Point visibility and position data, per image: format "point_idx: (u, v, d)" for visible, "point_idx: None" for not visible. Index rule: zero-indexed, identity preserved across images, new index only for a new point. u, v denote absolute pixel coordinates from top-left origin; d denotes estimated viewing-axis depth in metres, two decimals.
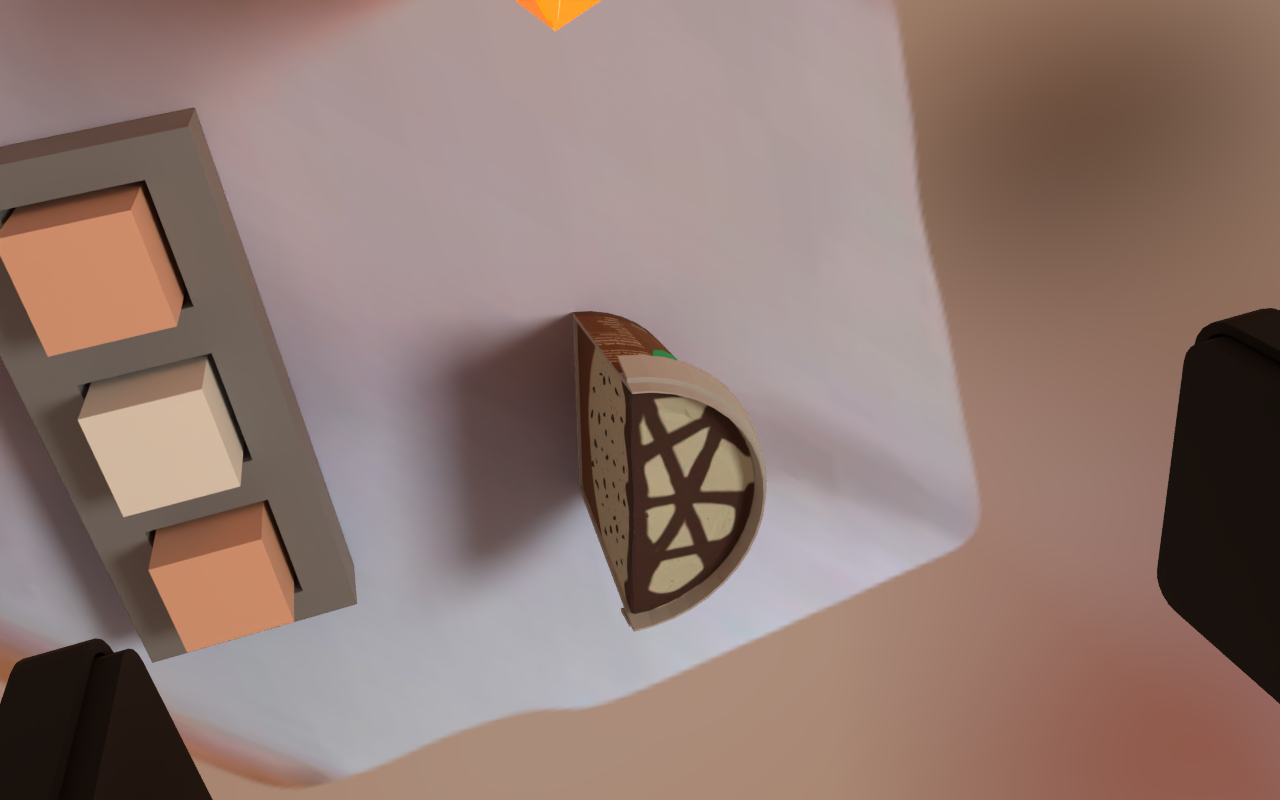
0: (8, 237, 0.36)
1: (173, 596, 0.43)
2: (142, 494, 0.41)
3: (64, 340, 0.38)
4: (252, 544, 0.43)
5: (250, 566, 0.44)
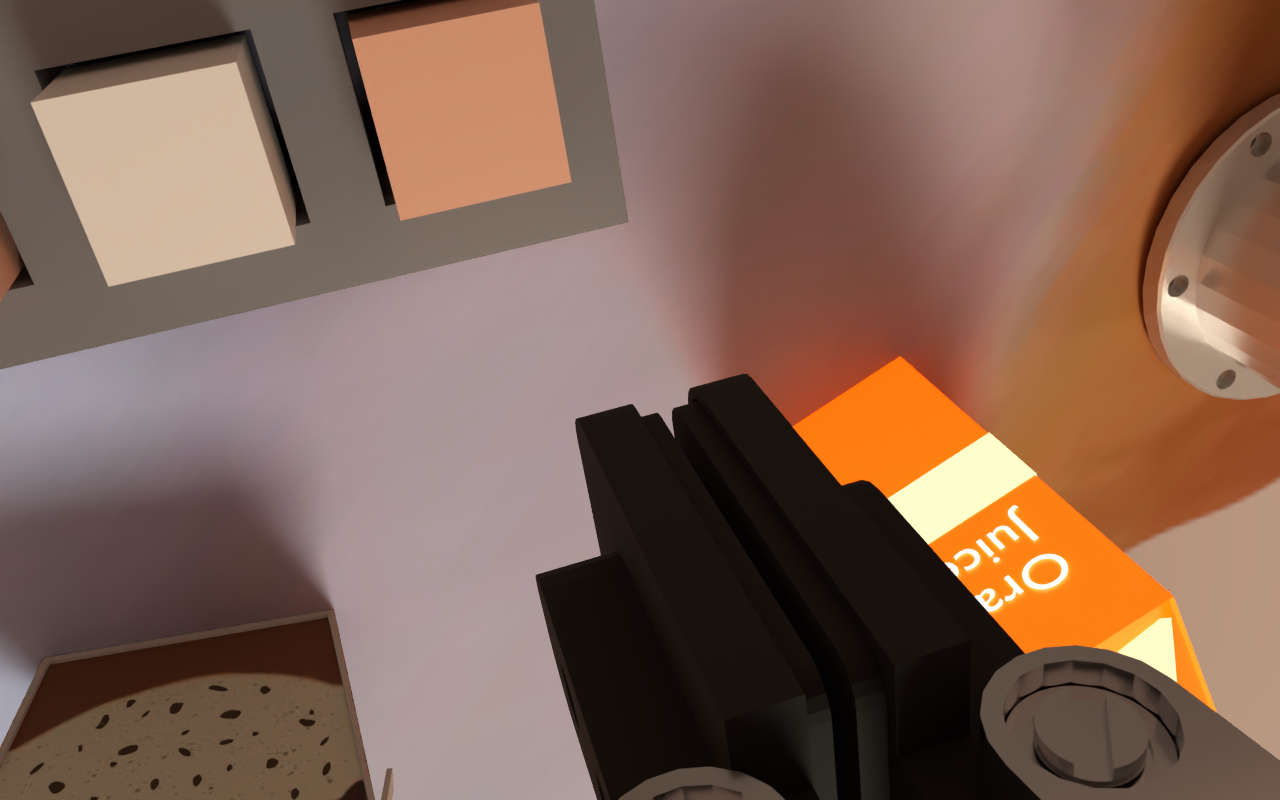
0: (541, 23, 0.25)
1: None
2: (83, 138, 0.24)
3: (379, 67, 0.25)
4: None
5: None
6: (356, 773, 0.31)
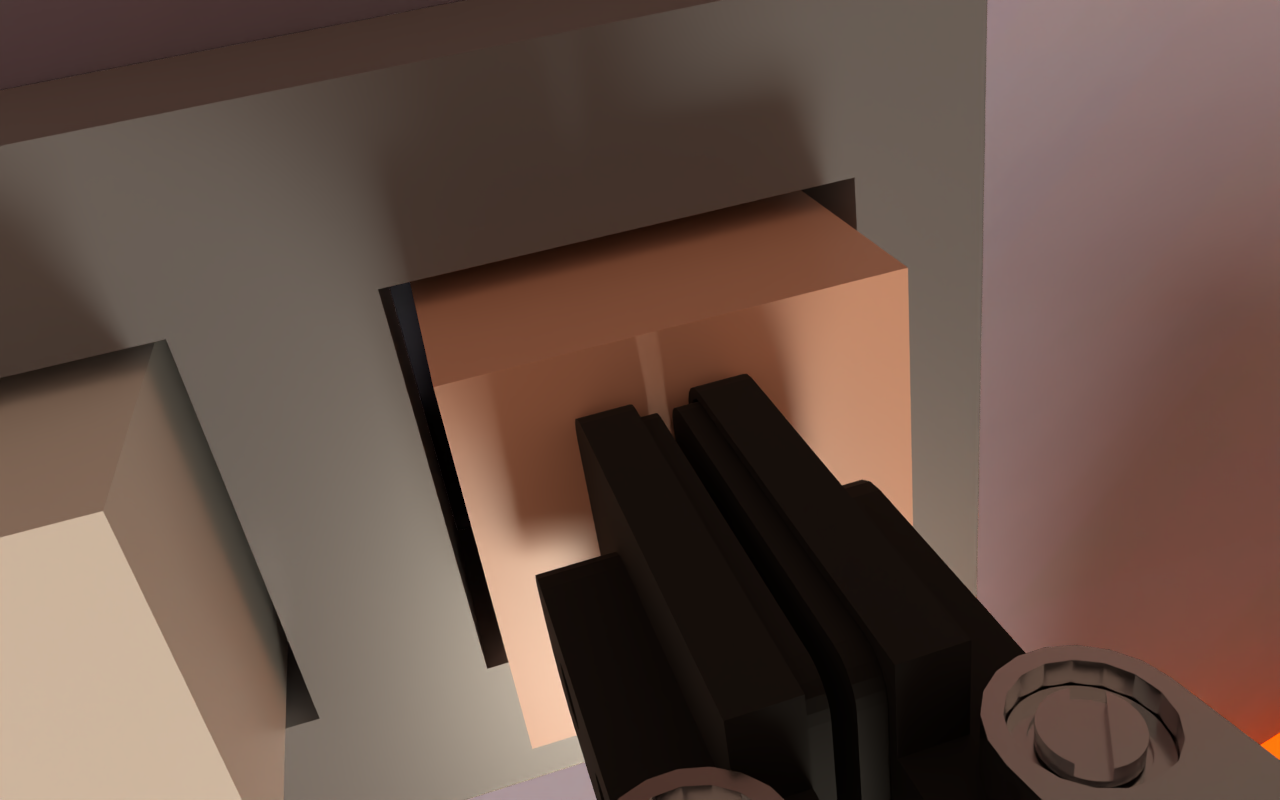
0: (906, 315, 0.10)
1: None
2: None
3: (502, 445, 0.10)
4: None
5: None
6: None
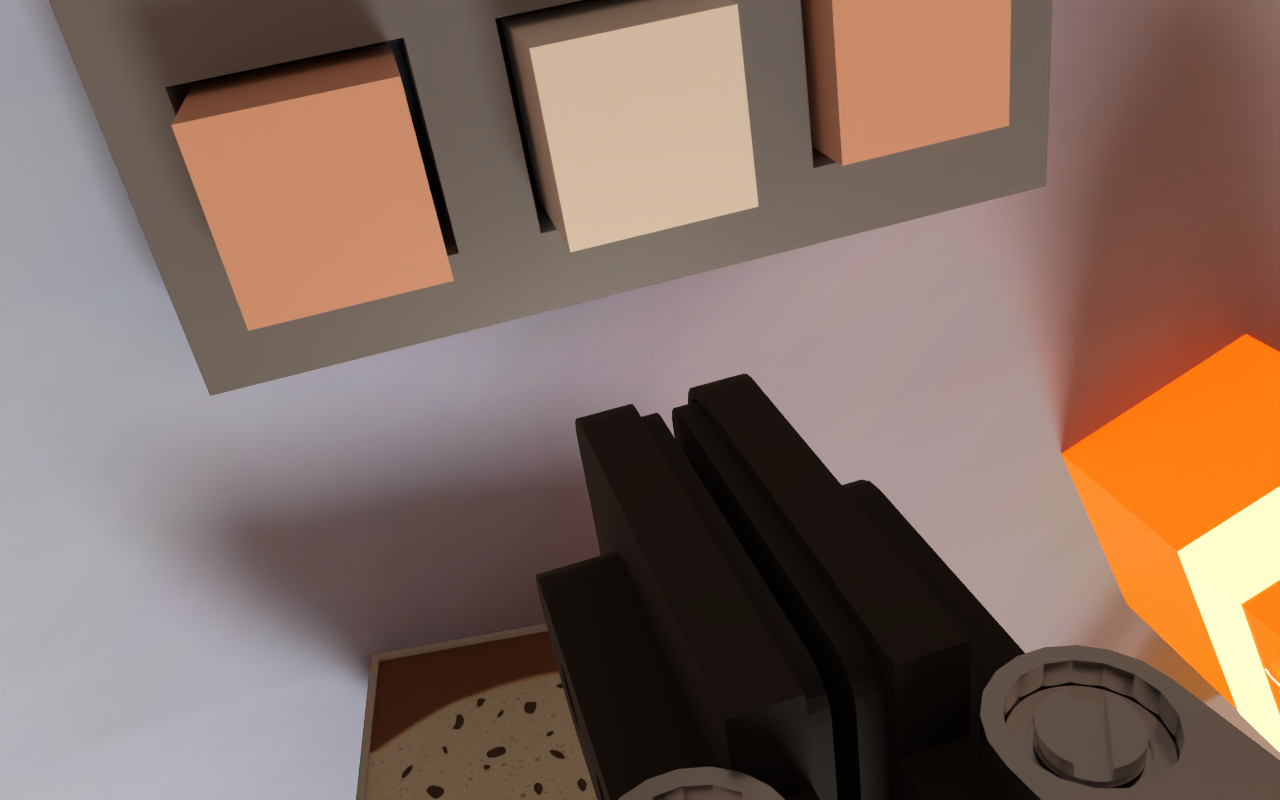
0: None
1: (329, 114, 0.21)
2: (574, 89, 0.22)
3: (851, 2, 0.24)
4: (443, 265, 0.23)
5: (391, 259, 0.23)
6: None
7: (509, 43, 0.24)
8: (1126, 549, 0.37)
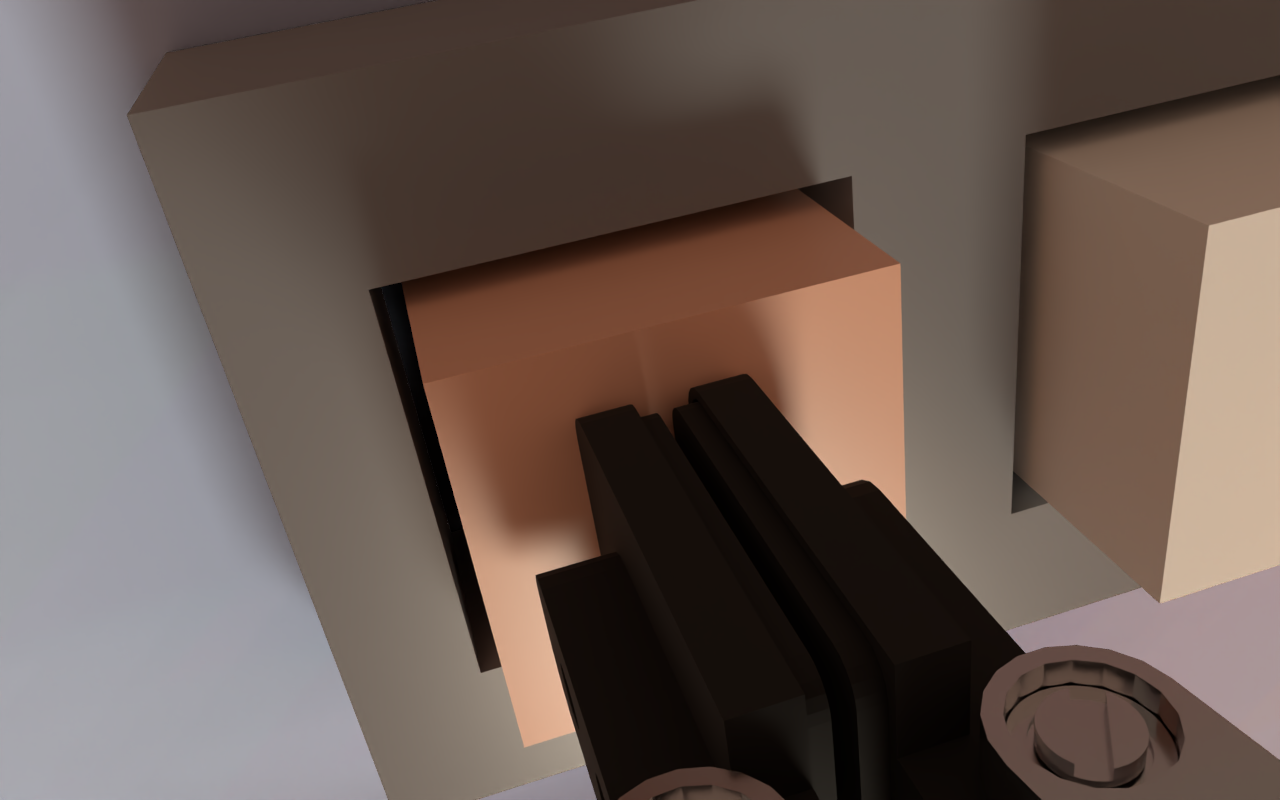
0: None
1: (747, 346, 0.10)
2: (1265, 304, 0.10)
3: None
4: None
5: None
6: None
7: None
8: None
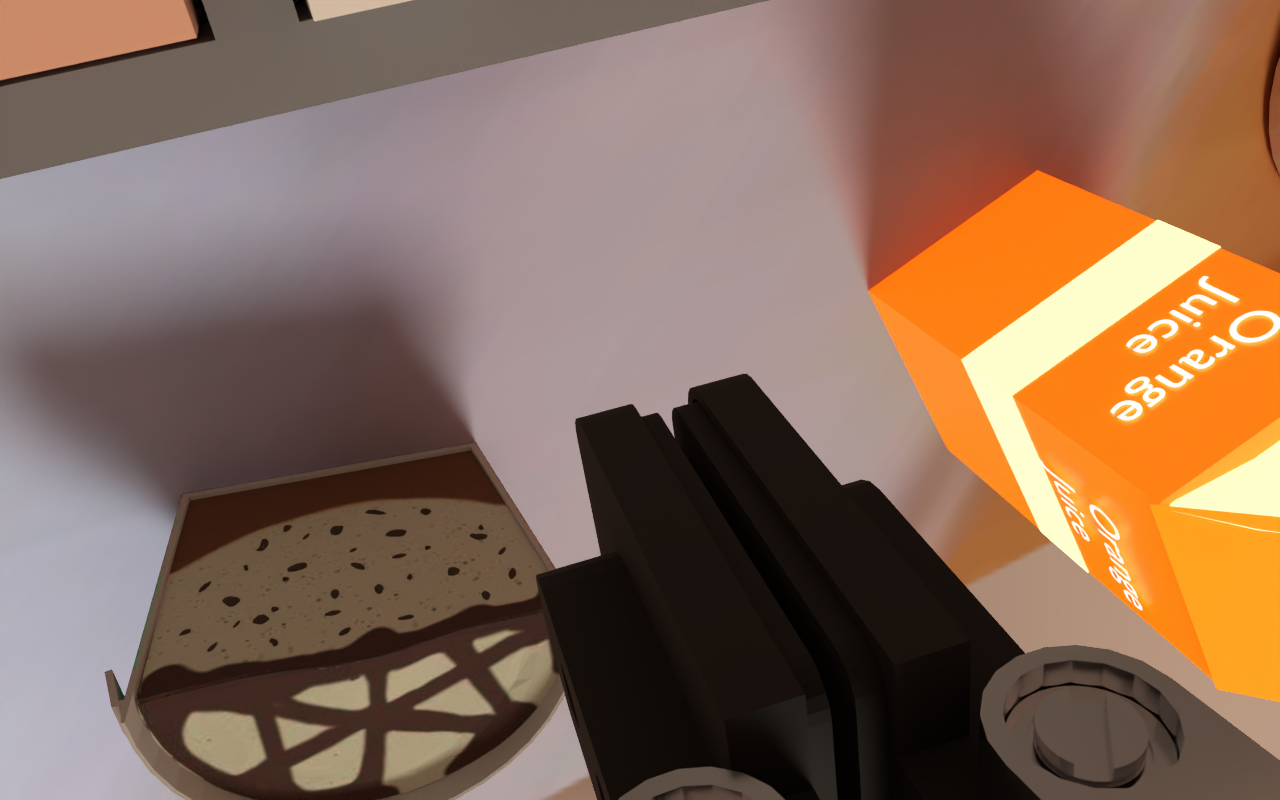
0: None
1: None
2: None
3: None
4: (184, 21, 0.24)
5: (132, 12, 0.24)
6: None
7: None
8: (932, 380, 0.39)
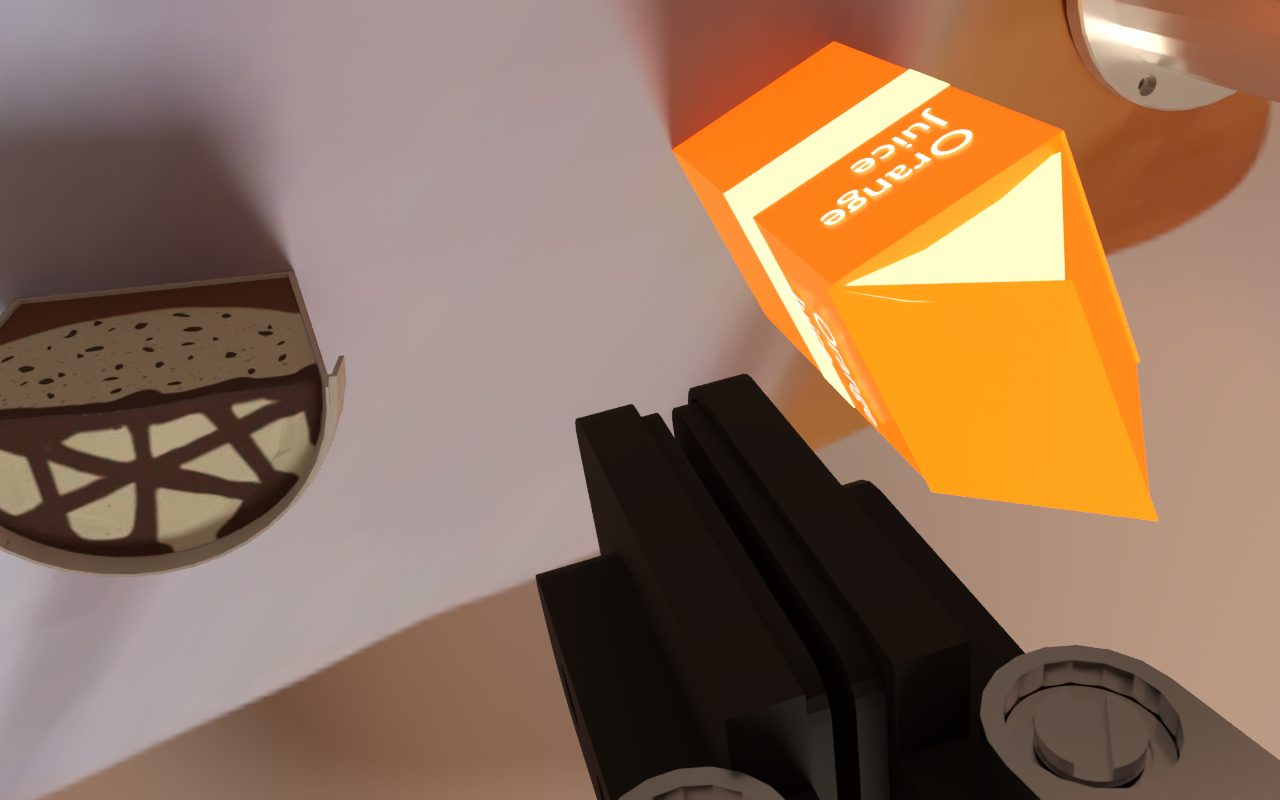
0: None
1: None
2: None
3: None
4: None
5: None
6: (310, 360, 0.33)
7: None
8: (729, 235, 0.41)
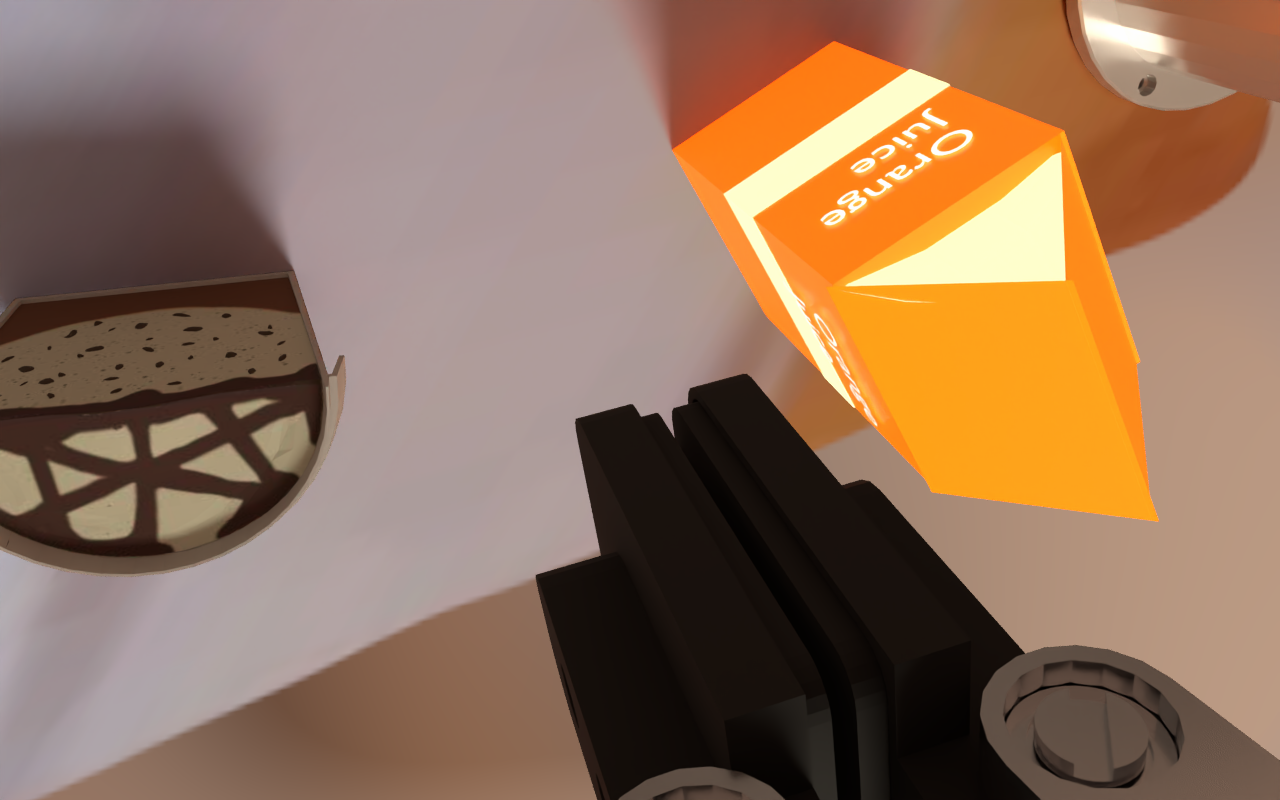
0: None
1: None
2: None
3: None
4: None
5: None
6: (310, 359, 0.33)
7: None
8: (729, 235, 0.41)
